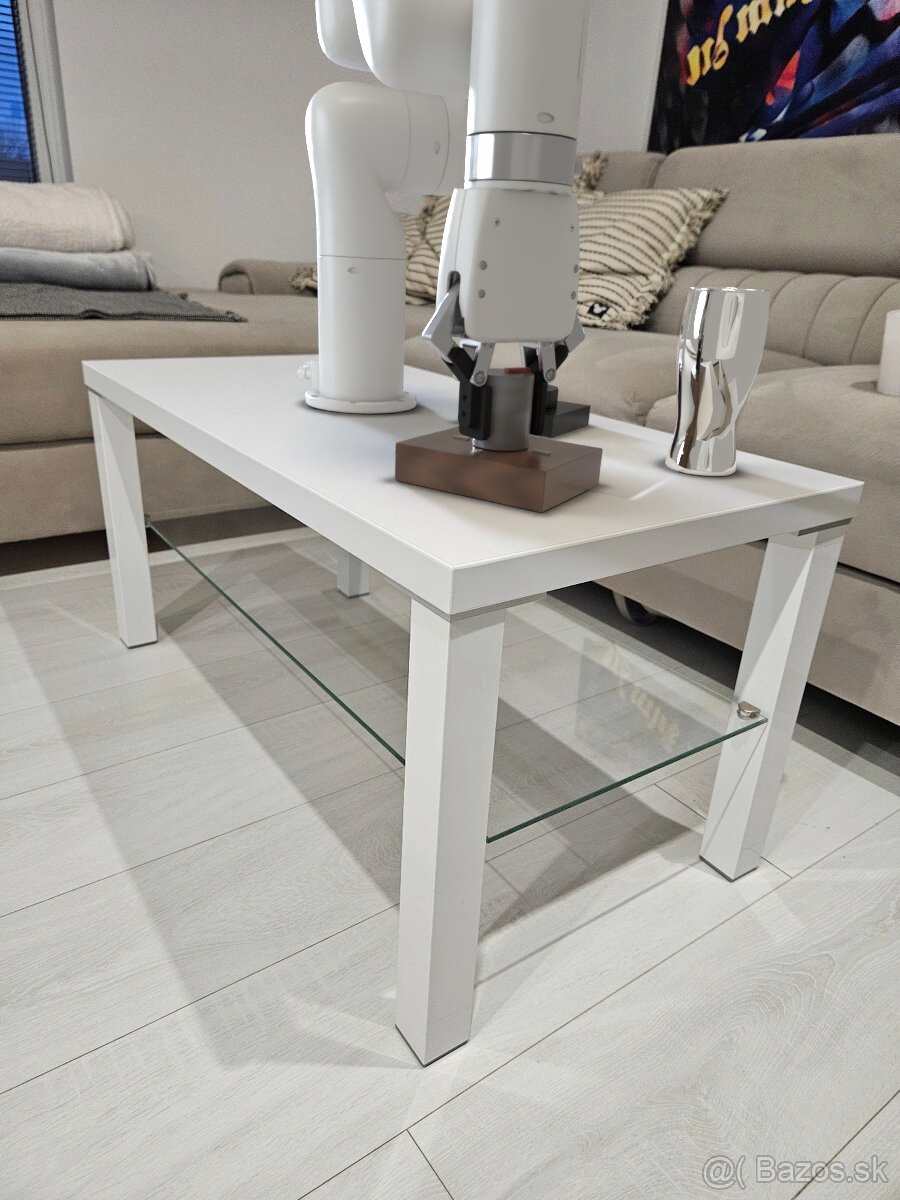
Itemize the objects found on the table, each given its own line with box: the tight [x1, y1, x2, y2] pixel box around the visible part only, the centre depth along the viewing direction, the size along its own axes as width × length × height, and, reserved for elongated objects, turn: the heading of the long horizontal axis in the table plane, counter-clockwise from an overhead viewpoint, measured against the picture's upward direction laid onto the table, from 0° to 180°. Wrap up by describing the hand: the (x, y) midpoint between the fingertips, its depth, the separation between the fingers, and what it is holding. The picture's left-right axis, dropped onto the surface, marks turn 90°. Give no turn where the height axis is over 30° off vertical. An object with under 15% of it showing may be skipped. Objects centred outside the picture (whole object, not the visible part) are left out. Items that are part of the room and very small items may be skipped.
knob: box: [472, 366, 535, 451], centre depth 63 cm, size 4×4×6 cm
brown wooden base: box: [394, 425, 604, 514], centre depth 65 cm, size 13×10×3 cm
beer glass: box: [664, 285, 773, 477], centre depth 70 cm, size 7×7×15 cm
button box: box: [530, 383, 591, 439], centre depth 88 cm, size 11×9×4 cm
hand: (501, 431), depth 64 cm, fingers closed on knob, 4 cm apart
